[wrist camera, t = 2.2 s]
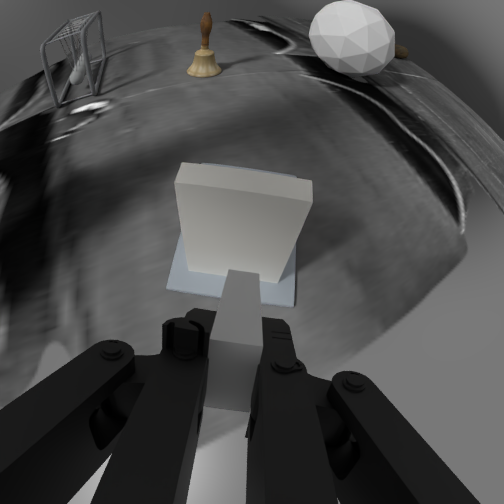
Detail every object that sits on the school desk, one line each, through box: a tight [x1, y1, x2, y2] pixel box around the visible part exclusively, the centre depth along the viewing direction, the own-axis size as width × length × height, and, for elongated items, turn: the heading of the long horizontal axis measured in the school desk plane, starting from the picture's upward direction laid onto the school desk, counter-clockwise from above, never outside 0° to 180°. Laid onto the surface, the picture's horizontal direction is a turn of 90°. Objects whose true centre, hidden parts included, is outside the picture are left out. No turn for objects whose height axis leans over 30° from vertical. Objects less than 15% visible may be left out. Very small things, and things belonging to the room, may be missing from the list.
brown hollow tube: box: [394, 44, 408, 58], centre depth 90 cm, size 15×7×7 cm, turn 116°
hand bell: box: [187, 12, 221, 77], centre depth 51 cm, size 8×8×16 cm
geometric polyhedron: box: [309, 0, 395, 78], centre depth 59 cm, size 24×25×25 cm
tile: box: [174, 162, 313, 283], centre depth 27 cm, size 2×10×14 cm, turn 84°
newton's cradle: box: [40, 10, 106, 108], centre depth 48 cm, size 30×10×18 cm, turn 19°
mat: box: [166, 162, 297, 308], centre depth 36 cm, size 20×14×1 cm
